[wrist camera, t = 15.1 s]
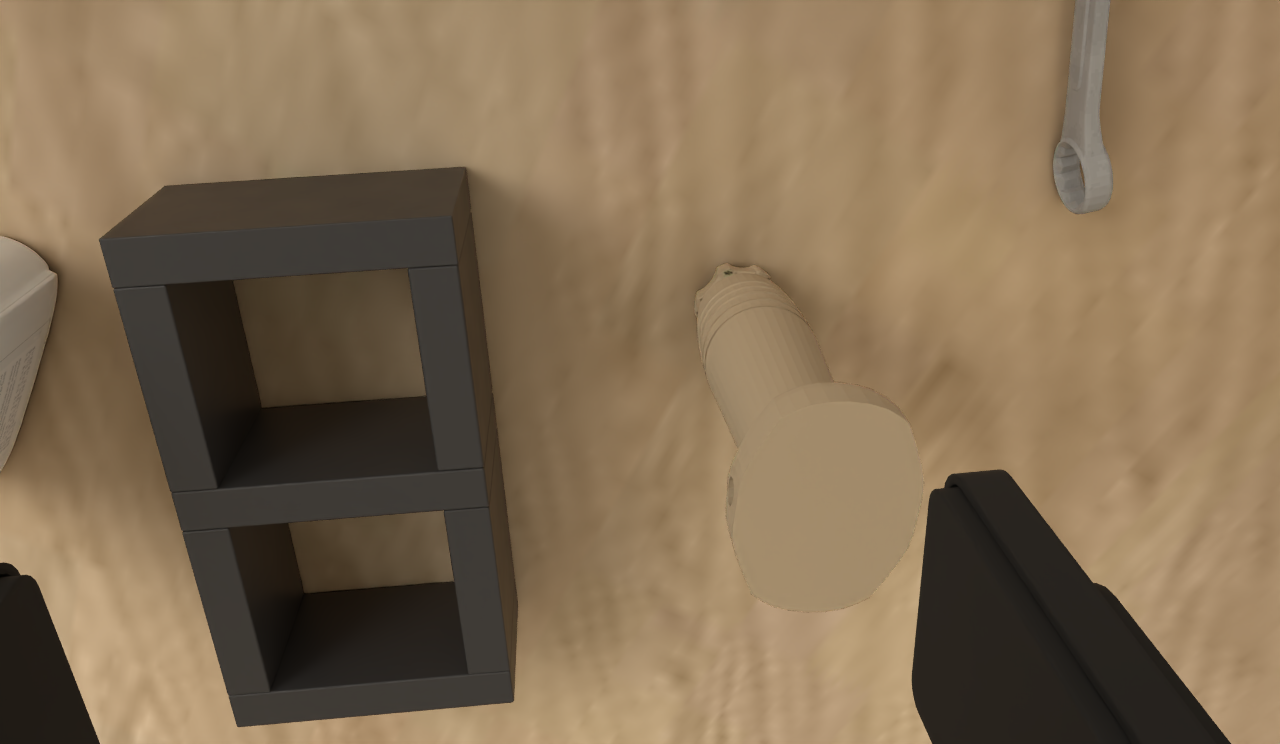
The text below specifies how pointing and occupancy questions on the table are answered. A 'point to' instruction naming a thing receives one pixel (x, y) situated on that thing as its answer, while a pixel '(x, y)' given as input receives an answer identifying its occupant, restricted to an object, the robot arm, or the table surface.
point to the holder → (324, 442)
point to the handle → (803, 453)
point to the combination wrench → (1084, 115)
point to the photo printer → (21, 332)
